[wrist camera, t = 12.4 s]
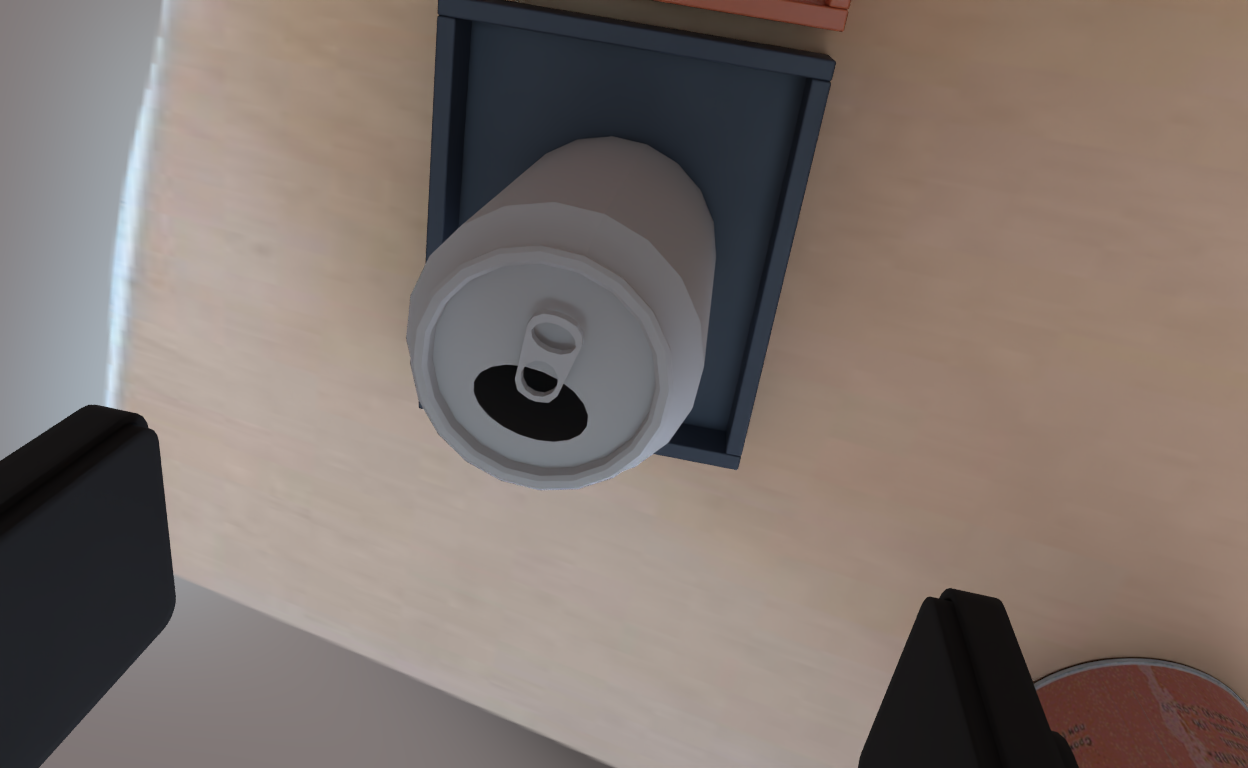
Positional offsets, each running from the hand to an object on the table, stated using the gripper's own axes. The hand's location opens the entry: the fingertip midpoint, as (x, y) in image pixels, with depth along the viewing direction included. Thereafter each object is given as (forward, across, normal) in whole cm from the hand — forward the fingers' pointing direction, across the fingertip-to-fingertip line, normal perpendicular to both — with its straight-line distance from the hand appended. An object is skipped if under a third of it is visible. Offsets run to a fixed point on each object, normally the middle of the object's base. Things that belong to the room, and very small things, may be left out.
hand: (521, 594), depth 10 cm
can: (+22, +2, +2) cm, 22 cm away
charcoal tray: (+22, +2, +2) cm, 22 cm away
